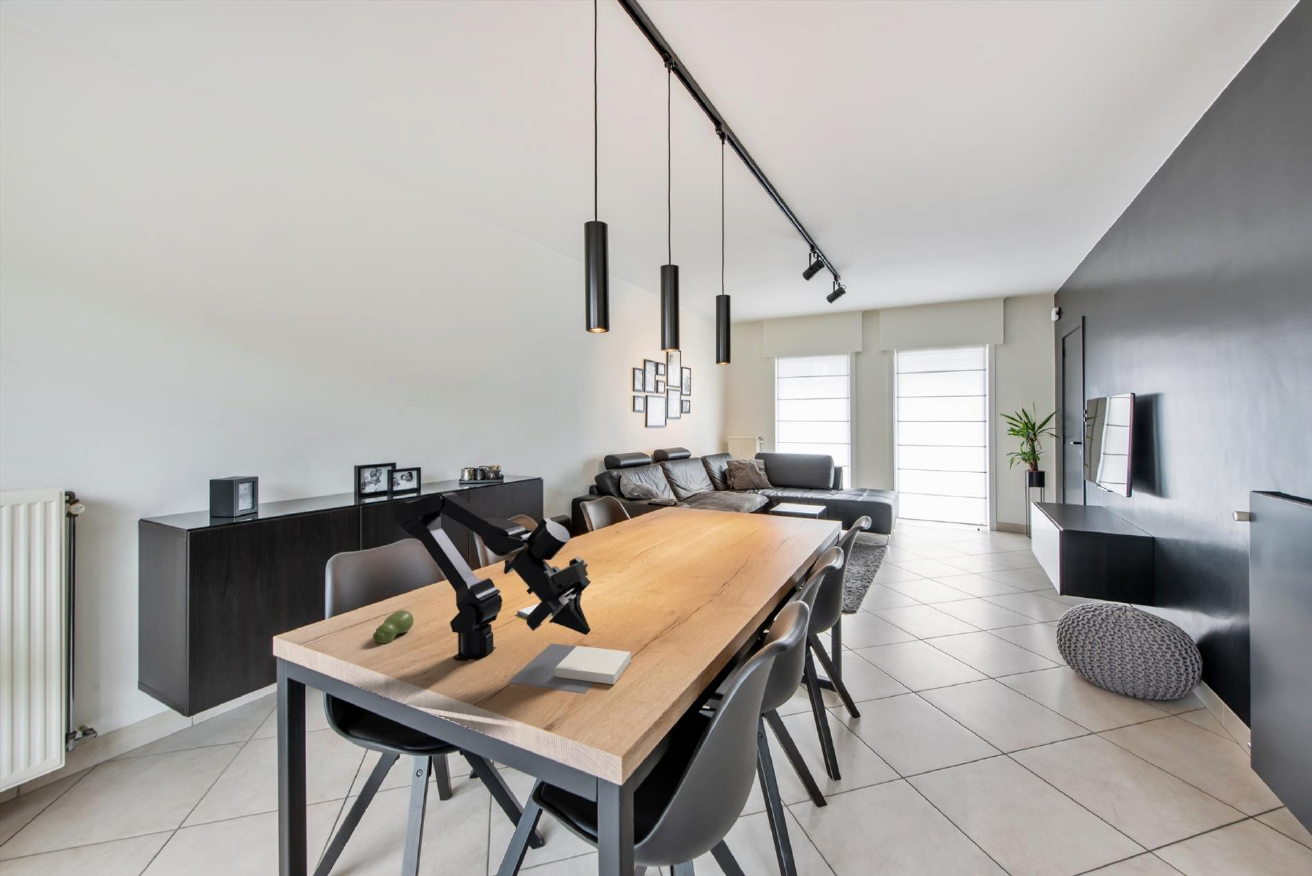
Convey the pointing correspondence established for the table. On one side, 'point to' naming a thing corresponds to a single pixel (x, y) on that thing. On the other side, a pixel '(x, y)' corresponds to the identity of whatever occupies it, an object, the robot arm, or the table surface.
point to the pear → (393, 626)
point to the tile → (593, 664)
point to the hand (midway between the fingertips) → (588, 633)
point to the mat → (549, 671)
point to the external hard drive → (528, 611)
